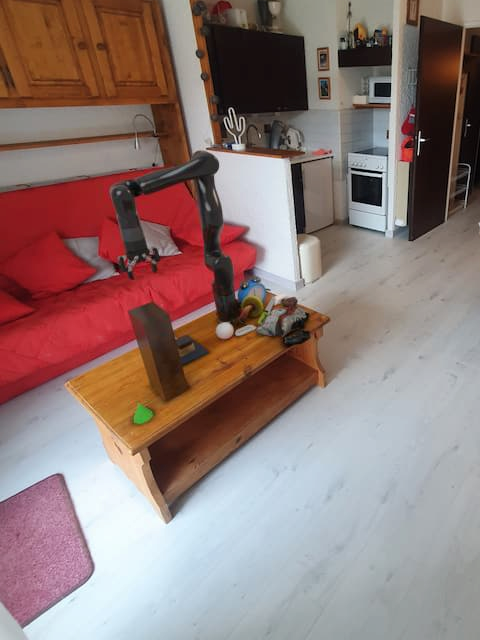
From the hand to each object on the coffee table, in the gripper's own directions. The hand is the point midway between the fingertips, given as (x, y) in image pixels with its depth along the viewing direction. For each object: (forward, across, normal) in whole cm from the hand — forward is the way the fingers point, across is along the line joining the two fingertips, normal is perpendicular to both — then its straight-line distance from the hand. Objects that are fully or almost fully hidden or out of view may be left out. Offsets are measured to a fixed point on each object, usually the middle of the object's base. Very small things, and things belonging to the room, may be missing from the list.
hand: (143, 275), depth 151 cm
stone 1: (+28, +42, -32) cm, 60 cm away
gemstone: (+30, -24, -40) cm, 56 cm away
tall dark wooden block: (+30, -12, -33) cm, 46 cm away
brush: (+29, +2, -11) cm, 31 cm away
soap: (+28, +27, -22) cm, 45 cm away
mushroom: (+22, +27, -21) cm, 41 cm away
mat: (+30, +2, -16) cm, 34 cm away
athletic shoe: (+20, +40, -35) cm, 57 cm away
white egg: (+25, +18, -24) cm, 39 cm away
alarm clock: (+30, +43, -7) cm, 53 cm away
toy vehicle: (+29, +55, -15) cm, 64 cm away
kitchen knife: (+29, +44, -19) cm, 56 cm away
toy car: (+26, +36, -46) cm, 65 cm away
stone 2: (+31, +57, -21) cm, 68 cm away
